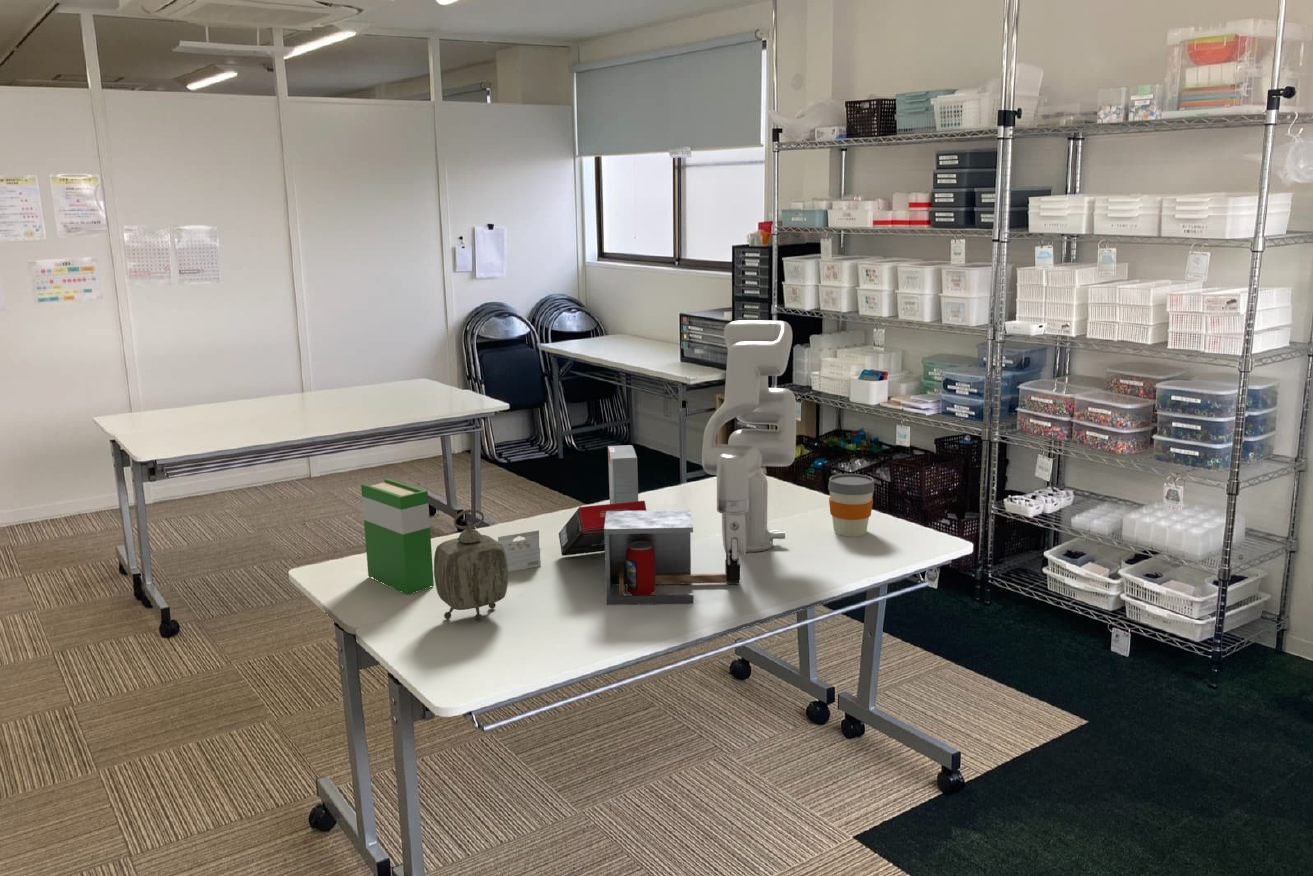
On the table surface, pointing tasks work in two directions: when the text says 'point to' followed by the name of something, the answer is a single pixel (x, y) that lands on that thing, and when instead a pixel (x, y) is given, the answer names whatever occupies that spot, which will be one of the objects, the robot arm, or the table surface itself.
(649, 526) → the shelf lane
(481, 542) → the tabletop clock
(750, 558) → the table surface
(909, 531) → the table surface
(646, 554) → the beverage can
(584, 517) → the graphics card box
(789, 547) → the table surface
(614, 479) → the hard drive box
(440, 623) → the table surface
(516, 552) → the ink box
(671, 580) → the pull rod
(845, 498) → the reusable coffee cup
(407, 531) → the hardback book
